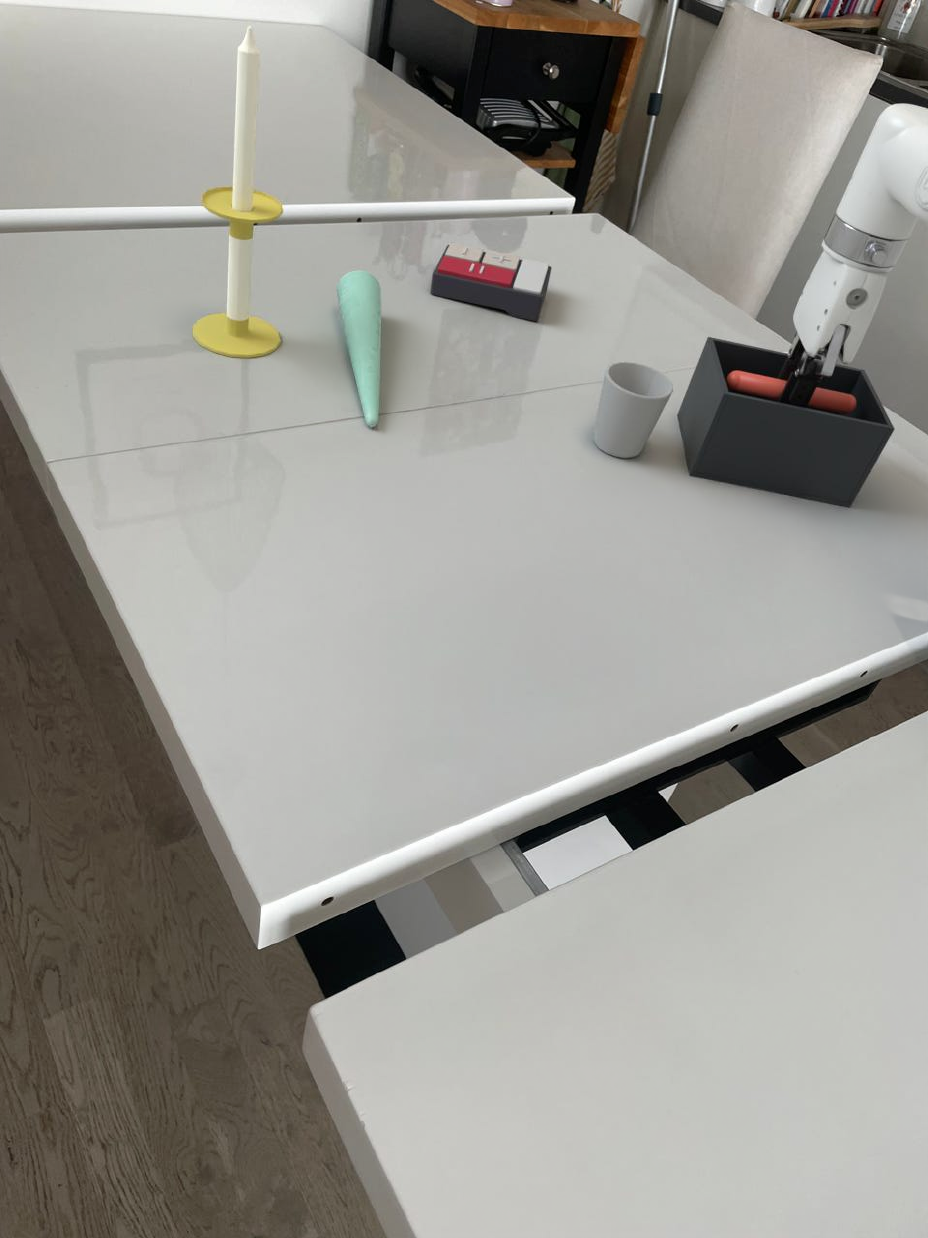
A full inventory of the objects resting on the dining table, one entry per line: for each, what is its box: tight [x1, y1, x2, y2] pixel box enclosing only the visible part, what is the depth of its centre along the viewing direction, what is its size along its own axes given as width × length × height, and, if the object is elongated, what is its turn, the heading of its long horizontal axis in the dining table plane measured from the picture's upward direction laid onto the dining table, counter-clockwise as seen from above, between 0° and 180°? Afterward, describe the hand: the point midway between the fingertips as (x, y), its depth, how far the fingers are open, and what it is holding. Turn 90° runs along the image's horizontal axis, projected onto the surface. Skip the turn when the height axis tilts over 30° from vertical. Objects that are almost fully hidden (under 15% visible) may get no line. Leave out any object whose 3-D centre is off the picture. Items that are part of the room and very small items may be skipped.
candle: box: [192, 19, 284, 359], centre depth 103 cm, size 10×10×32 cm
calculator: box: [430, 242, 552, 322], centre depth 135 cm, size 11×4×15 cm
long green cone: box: [336, 269, 382, 428], centre depth 113 cm, size 5×6×27 cm
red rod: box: [726, 371, 856, 414], centre depth 110 cm, size 15×2×2 cm, turn 87°
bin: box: [676, 336, 896, 508], centre depth 113 cm, size 19×13×11 cm
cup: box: [592, 361, 674, 459], centre depth 111 cm, size 8×10×8 cm
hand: (788, 399), depth 111 cm, fingers closed on red rod, 2 cm apart
